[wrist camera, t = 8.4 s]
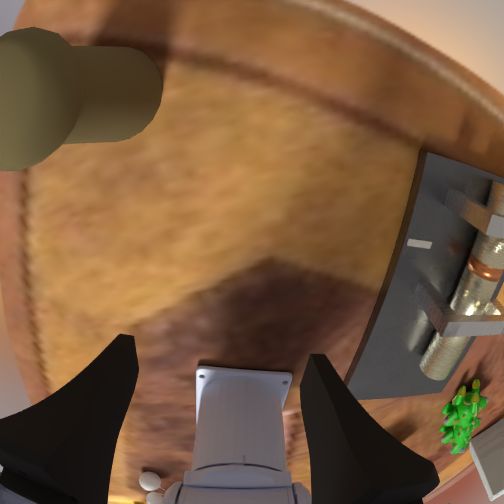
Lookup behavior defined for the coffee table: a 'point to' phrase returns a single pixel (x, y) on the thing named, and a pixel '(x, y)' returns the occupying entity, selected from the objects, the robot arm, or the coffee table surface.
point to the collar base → (427, 281)
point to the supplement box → (490, 458)
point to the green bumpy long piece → (462, 417)
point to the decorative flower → (151, 487)
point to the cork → (69, 95)
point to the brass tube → (469, 293)
